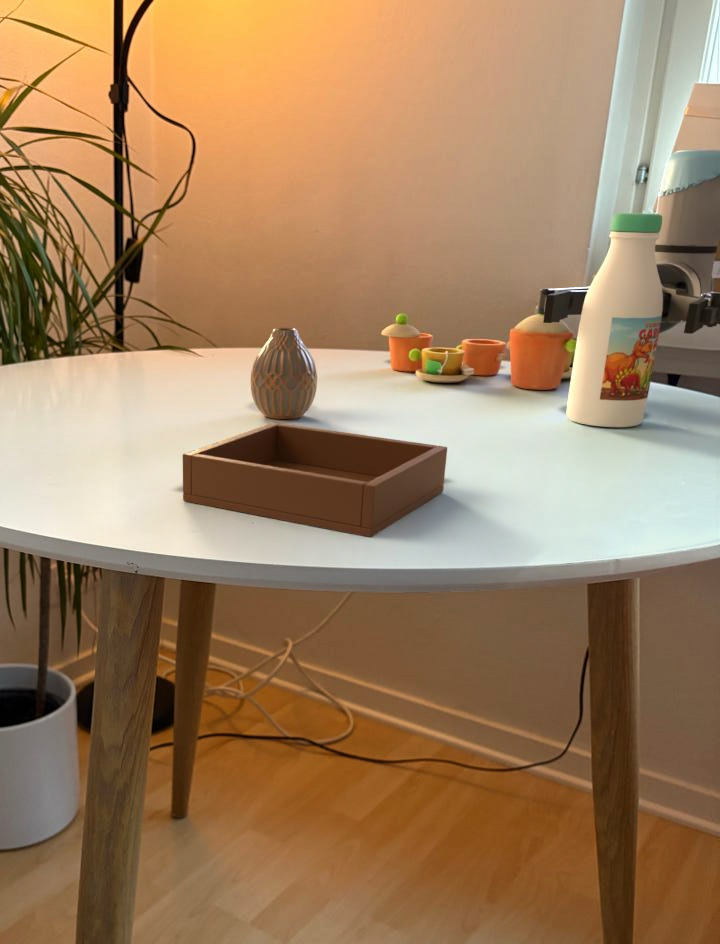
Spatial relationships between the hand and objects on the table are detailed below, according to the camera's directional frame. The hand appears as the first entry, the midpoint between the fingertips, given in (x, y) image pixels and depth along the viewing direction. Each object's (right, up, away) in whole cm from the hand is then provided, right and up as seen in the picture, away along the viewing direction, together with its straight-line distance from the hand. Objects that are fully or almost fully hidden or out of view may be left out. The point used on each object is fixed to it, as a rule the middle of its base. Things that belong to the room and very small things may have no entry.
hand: (617, 313), depth 97 cm
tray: (-31, -21, -21) cm, 43 cm away
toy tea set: (-7, +1, +29) cm, 30 cm away
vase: (-33, -9, +6) cm, 35 cm away
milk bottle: (+1, -9, +6) cm, 11 cm away
